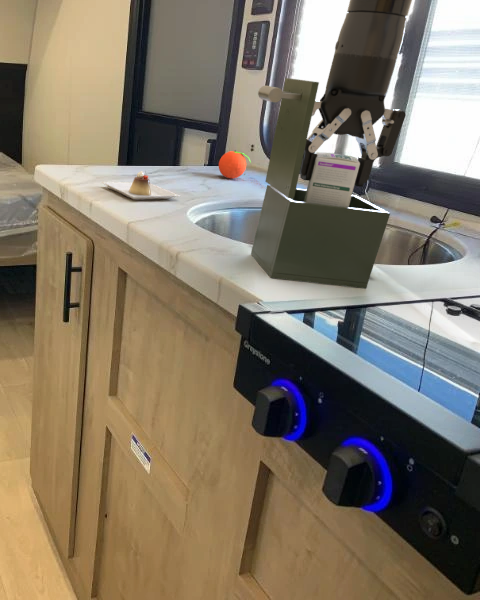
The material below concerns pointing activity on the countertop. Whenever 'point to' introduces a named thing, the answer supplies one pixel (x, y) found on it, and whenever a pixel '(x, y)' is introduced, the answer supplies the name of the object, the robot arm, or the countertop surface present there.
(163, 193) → the dessert
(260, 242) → the trash bin
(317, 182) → the syrup box
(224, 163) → the clementine
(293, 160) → the bin lid
